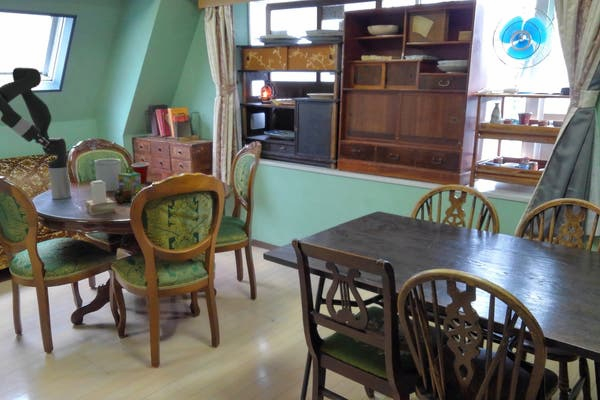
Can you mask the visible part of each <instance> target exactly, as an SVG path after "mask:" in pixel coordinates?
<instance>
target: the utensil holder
mask: <svg viewBox="0 0 600 400" xmlns="http://www.w3.org/2000/svg"><path fill="white" fill-rule="evenodd" d="M121 162H122V160H121V159H120V158H110V157H108V158H100V159H95V160H94V166H95V167H94V168H95V176H96V181H98V180H102V181H103V182H104V183H105V188H106V192H114V190H117V189H119V182H118V174H122V167H121V165H122V163H121Z"/></svg>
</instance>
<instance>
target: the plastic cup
mask: <svg viewBox="0 0 600 400" xmlns="http://www.w3.org/2000/svg"><path fill="white" fill-rule="evenodd" d="M149 165H150V164H149V162H147V161H146V162H135V163H132V164H131V168H133V172H135V173H140V176H141V182H145V183H147V180H148V179H147V178H148V170H149Z"/></svg>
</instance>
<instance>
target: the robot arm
mask: <svg viewBox="0 0 600 400" xmlns="http://www.w3.org/2000/svg"><path fill="white" fill-rule="evenodd" d="M12 78H13V79H12V80H13V81H10V82H7V83H5V84H3V85H1V86H0V113H1V114H2V115H1V117H0V121H1V122H2V124H4V125H5V126H7V127H8V128H10V129H11V130H12V131H13V132H15V133H16V134H17V135H18V136H20V137H21V138H23V140H25V141H26V142H28V143H30V142H32V141H33V140H34V142H35V143H36V144H37V145H39V146H40V147H42V150H43V152H44V153H45V154H46V155H47V156H57V157H56V158H55V159H54V160H52V161H49V162H48V163H47V165H48V173H49V181H50V189H51V197H52V199H53V200H64V199H69V198H70V197H71V195H72V193H71V184H70V179H69V172H68V157H67V143H66V141H65V139H64V138H62V137H50V135H49V133H48V130H49V129H50V128H49V127H50V126H51V125H50V124H51V123H52V115H51V112H50V109H49V107H48V105H47V104H46V103H45V102H44V101H43V99H41V98H40V97H39V96H37V94H36V93H35V92H34V91H33V90H32V89H34V88H37V87H38V86H39V85H40V83H41V80H42V77H41V73H40V71H39V70H38V69H37V68H33V67H15V68H14V69H13V70H12ZM19 95H21V97H22V99H23V101H24V103H25V106H26V107H27V111H28V114H29V116H30V119H31V120H32V122H33V123H32V122H30V121H29V120H28V119H27V118H25V117H24V116H23V115H20V114H19V113H17V111H15V110H14V108H13V107H12V106H11V105H10V104H9V103H10V102H11V101H13V100H15V98H16V97H18V96H19Z"/></svg>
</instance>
